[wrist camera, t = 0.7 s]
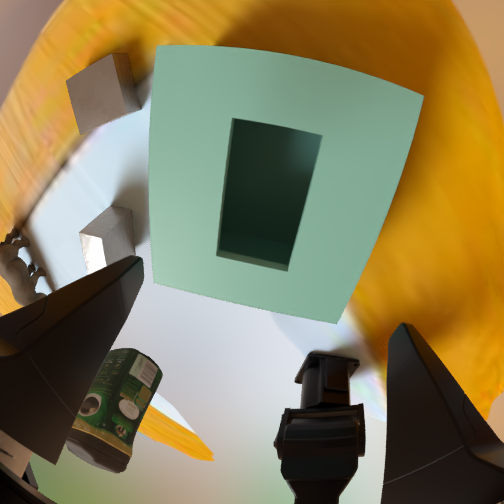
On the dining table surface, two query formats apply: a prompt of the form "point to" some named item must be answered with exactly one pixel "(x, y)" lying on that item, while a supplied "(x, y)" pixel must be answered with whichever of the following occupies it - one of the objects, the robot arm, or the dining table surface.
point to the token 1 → (103, 92)
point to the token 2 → (108, 238)
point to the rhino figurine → (19, 270)
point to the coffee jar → (114, 409)
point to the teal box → (271, 175)
